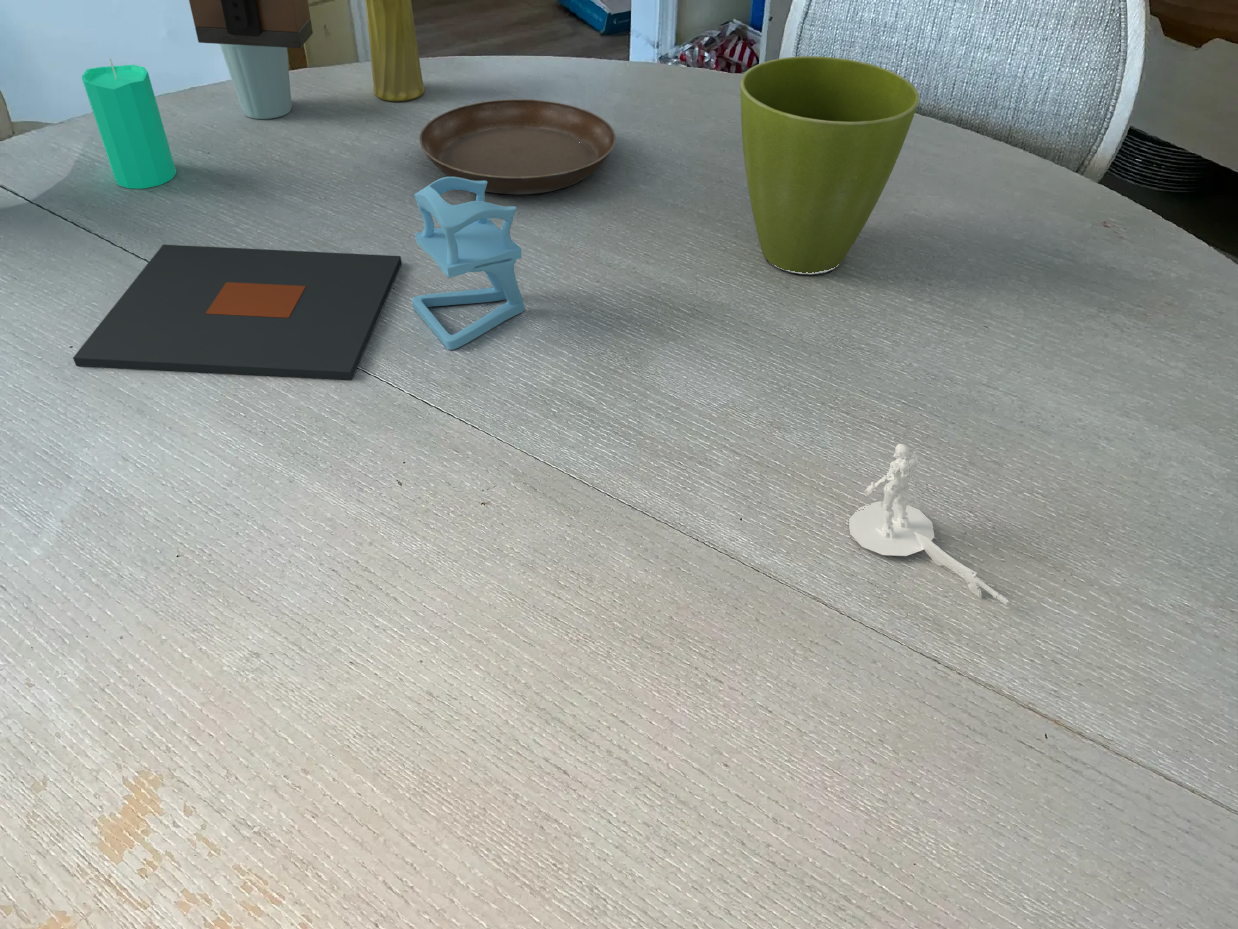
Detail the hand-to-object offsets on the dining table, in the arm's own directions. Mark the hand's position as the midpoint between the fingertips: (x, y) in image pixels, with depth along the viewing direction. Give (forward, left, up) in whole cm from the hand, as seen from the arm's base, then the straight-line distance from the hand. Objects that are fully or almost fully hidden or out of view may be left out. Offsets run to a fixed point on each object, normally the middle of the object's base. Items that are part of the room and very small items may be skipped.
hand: (253, 23), depth 99 cm
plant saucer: (+25, +2, -14) cm, 29 cm away
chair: (+25, -28, -14) cm, 40 cm away
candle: (-13, -5, -14) cm, 20 cm away
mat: (+6, -29, -14) cm, 33 cm away
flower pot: (+54, -15, -14) cm, 58 cm away
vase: (+8, +20, -14) cm, 26 cm away
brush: (0, 0, -1) cm, 1 cm away
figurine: (+59, -54, -14) cm, 81 cm away
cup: (-6, +13, -14) cm, 20 cm away
